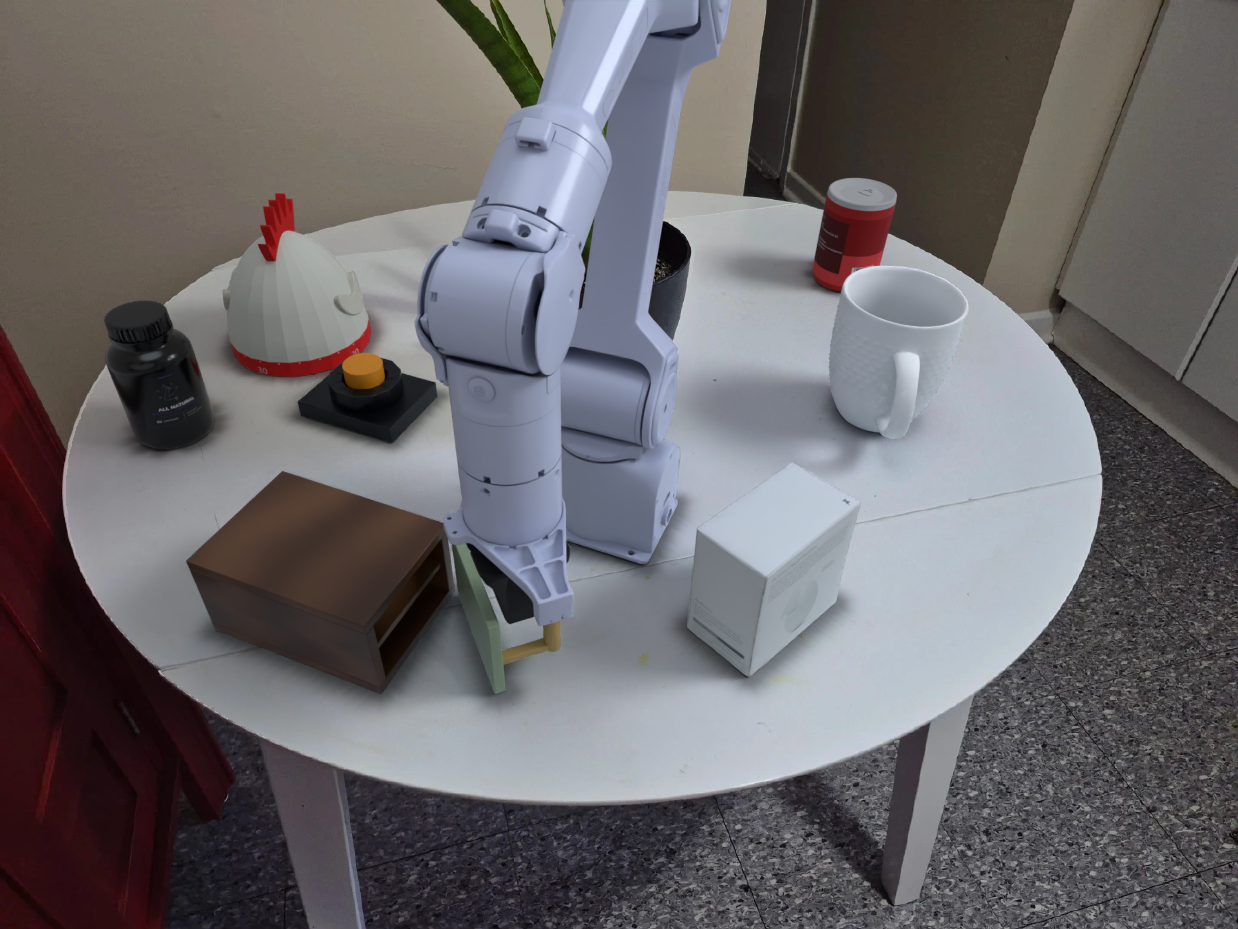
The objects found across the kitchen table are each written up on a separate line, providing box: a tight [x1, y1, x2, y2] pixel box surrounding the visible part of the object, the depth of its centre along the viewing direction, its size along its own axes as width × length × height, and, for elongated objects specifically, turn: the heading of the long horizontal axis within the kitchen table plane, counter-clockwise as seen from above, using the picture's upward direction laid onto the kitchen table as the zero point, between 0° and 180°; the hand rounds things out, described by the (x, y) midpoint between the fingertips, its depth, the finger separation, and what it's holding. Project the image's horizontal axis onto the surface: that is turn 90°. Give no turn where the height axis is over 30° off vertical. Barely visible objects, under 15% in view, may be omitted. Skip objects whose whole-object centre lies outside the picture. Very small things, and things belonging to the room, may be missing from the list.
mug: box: [828, 265, 969, 440], centre depth 79 cm, size 15×11×13 cm
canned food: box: [812, 177, 898, 293], centre depth 102 cm, size 8×8×11 cm
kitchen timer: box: [221, 192, 372, 378], centre depth 86 cm, size 14×14×15 cm
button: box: [342, 352, 385, 389], centre depth 80 cm, size 4×4×2 cm
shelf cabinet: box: [185, 470, 456, 695], centre depth 62 cm, size 14×10×7 cm
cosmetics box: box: [686, 461, 862, 678], centre depth 62 cm, size 10×6×10 cm, turn 133°
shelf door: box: [451, 543, 562, 695], centre depth 60 cm, size 5×9×8 cm, turn 23°
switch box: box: [296, 356, 438, 444], centre depth 82 cm, size 10×8×4 cm
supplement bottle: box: [103, 299, 215, 450], centre depth 76 cm, size 7×7×12 cm
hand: (519, 611), depth 56 cm, fingers closed, pressing on shelf door
